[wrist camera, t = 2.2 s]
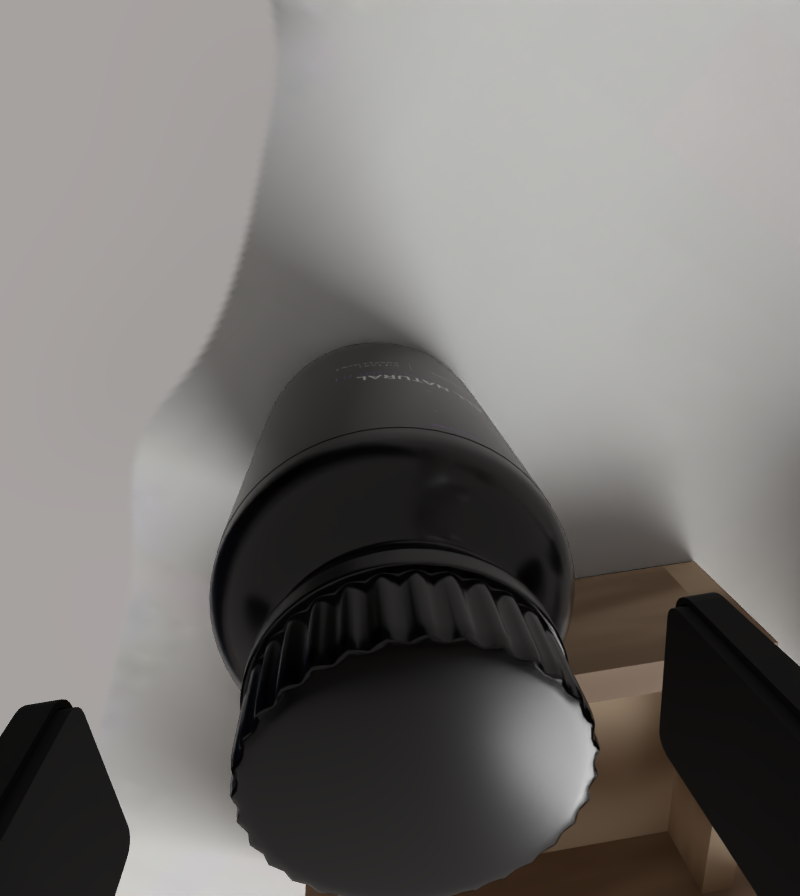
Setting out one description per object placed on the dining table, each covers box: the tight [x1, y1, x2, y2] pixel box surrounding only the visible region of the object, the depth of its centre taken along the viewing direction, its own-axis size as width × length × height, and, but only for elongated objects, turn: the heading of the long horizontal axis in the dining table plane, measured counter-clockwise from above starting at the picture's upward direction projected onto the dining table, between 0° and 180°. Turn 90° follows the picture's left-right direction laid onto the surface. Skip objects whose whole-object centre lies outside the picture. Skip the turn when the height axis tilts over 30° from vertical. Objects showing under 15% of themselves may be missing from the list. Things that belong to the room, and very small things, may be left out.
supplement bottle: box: [209, 343, 600, 896], centre depth 13 cm, size 7×7×12 cm
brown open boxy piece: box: [305, 561, 778, 896], centre depth 18 cm, size 13×18×12 cm
